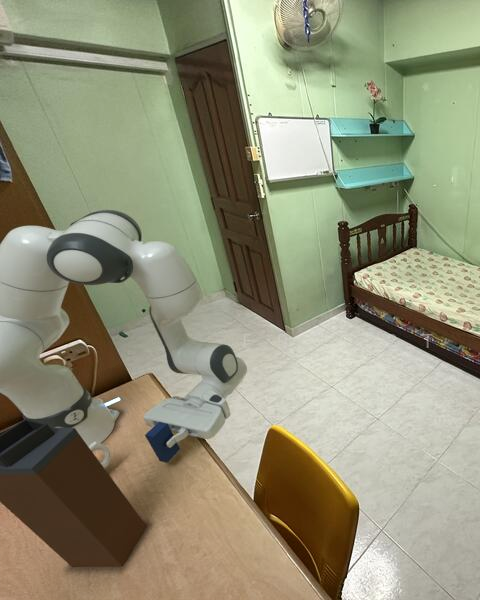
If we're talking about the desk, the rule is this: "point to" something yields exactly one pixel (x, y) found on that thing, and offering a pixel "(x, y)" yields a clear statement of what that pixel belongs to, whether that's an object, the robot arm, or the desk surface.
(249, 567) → the desk surface
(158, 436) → the small dark blue block
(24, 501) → the tall brown bin
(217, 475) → the desk surface
